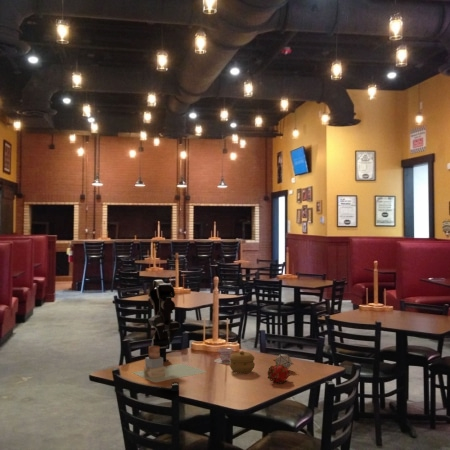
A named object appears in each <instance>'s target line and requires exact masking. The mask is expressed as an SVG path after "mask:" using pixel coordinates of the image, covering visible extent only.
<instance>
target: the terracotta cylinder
mask: <svg viewBox="0 0 450 450" xmlns="http://www.w3.org/2000/svg"><path fill="white" fill-rule="evenodd" d="M148 357H149V359H158V358H160V346H151V345H150V346H148Z"/></svg>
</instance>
